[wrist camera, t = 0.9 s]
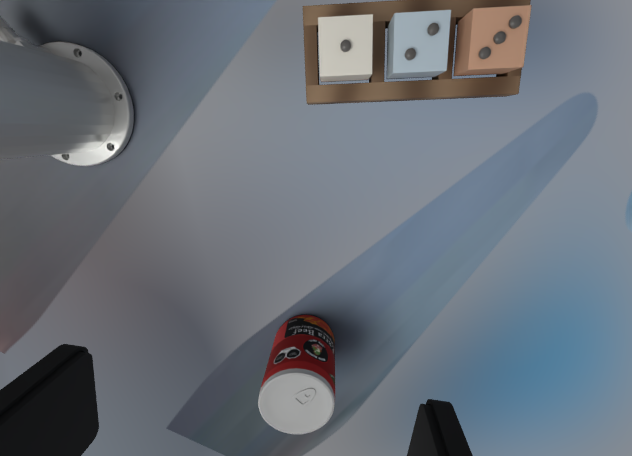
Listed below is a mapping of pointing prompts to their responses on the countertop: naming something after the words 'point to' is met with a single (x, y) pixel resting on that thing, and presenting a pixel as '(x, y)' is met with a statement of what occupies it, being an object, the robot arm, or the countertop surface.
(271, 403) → the canned food
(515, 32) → the tile three pip
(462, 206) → the countertop surface
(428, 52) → the tile two pip
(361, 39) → the tile one pip
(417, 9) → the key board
